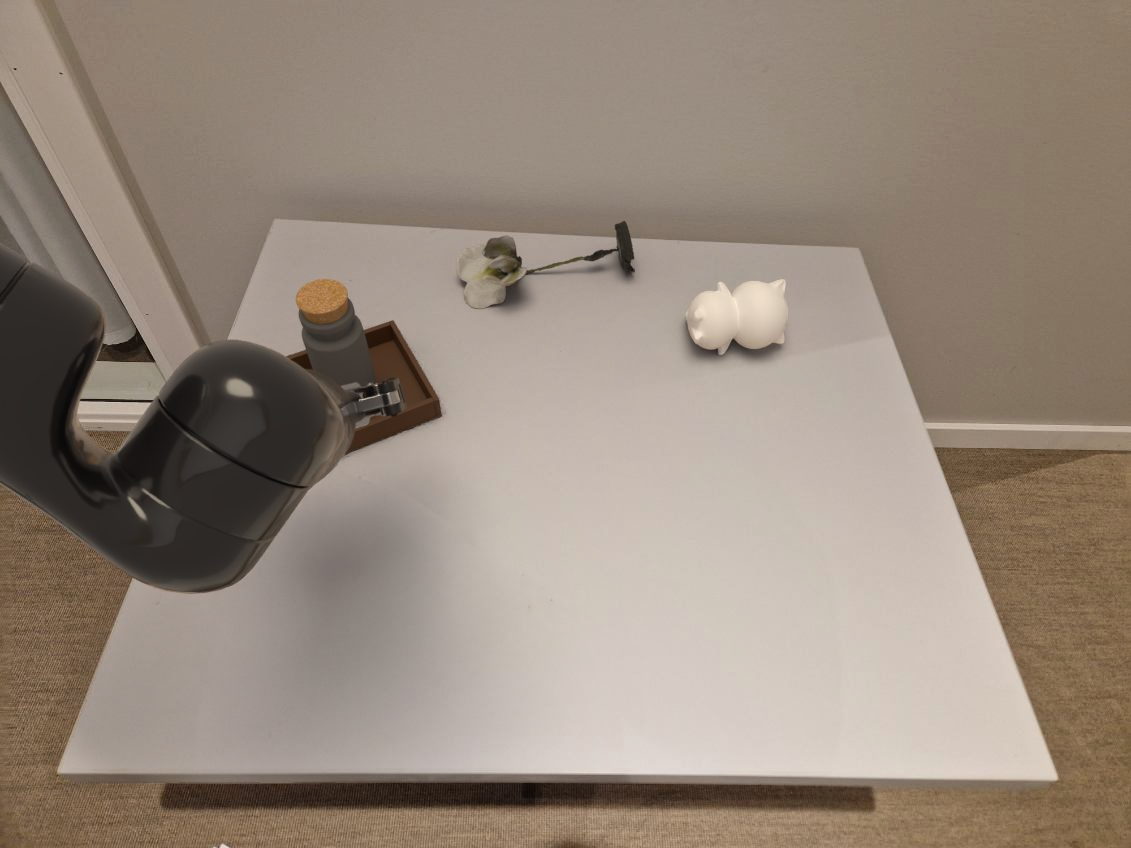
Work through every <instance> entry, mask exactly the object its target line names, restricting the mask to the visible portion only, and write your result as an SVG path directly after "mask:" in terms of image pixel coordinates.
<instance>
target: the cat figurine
mask: <svg viewBox="0 0 1131 848" xmlns="http://www.w3.org/2000/svg"><path fill="white" fill-rule="evenodd" d="M786 284H787V281H786V279H784V278H782V279H777V280H773V281H771V282H765V281H761V280H749V281H745V282H743V283H740V284H739V285H738V286H737V287H736V288H735V289H734V290H733V291H732V292H731V291H730V290H729V288H728V287H727V286H726V284H725V283H724V282H722V281H718V282H717V283H716V290H704V291H702V292H700V293H699V294H697V295H696V296H695V297H694V298H693V300H692V301H691V303H690V304H689V306H688V309H687V311H686V312H685V315H684V319H685V321H686V322H687V329H688V330H687V331H688V333H689V335H690V338H691V340H693V342H694V344H695V345H697V346H699V347H701V348H702V349H705V350H717V354H718V355H719V356H723V355H724V354H725V353H726V352H727V350H728V348H729V347H730V344H731V342H732V341H733V340H734V341H735V342H736V343H737V344H739V345H740V346H742V347H743V348H745V349H750V350H759V349H762V348H765V347H768V346H769V345H772V344H778V345H781V344H784V343H785V339H786V338H785V333H784V331H785V328H786V326H787V324H788V320H789V306H788V303H787V301H786V298H785V291H786Z"/></svg>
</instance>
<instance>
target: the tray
mask: <svg viewBox="0 0 1131 848" xmlns="http://www.w3.org/2000/svg"><path fill="white" fill-rule="evenodd" d="M364 333H365V337H366V341H367V344H368V348H369V352H370V356H371V360H372V364H373V368H374V372H375V376H376V380H377V384H380V383H382V381H385V380H388V379H389V378H393V377H394V378H395V379H396V378H399V379H400V384H401V387H402V390H403V394H404V398H405V401H406V405H407V407H406V408H405V409H404V411H403V412H401V413H398V415H397V416H394V417H391V415H390V416H386V415H385V416H381V415H379V416H372V417H370V422H369V424H368V425H365V426H362V427H359V428H356V429H355V433H354V437H353V440H352V443H351V445H350V447H349V449H348V450H347V452H346V453H345V455H347V454H349V453H352V452H354V451H355V452H356V451H357V450H360V449H362V448H365V447H367V446H369V445H372V444H375V443H377V442H379V441H382V440H384V439H388V438H391V437H392V436H396V435H398V434H400V433H403V432H405V431H408V430H411V429H413V428H415V427H418V426H420V425H423V424H425V423H428V422H431V421H434V420H435V419H438V418H440V417H443V414H442V409H441V401H440V397H439V396H438V394H437V392H436V391H435V389H434V387H433V386H432V384H431V382H430V381H429V379H428V377H427V376H426V373H425V372H424V370H423V368H422V367H421V364H420V363H419V362H418V359H417V358H416V356H415V355H414V353H413V351H412V349H411V348H410V346H409V344H408V342H407V340H406V339H405V337H404V336H403V333H402V332H401V330H400V328H399V327H398V325H397V323H396V322H395V320H394V319H392V320H389V321H385V322H382V323H380V324H377V325H374V326H372V327H369V328H366V329H364ZM285 356H286V357H288V358H289V359H291V360H293V361H294V362H296V363H297V364H298V365H300V366H301V367H303V368H304V369H309V370H313V368H312V365H311V362H310V360H309V357H308V354H307V351H306V349H303V350H300V351H298V352H294V353H292V354H289V355H285Z"/></svg>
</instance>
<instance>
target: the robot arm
mask: <svg viewBox="0 0 1131 848" xmlns="http://www.w3.org/2000/svg"><path fill="white" fill-rule="evenodd" d="M28 263H29V258H28V257H26V256H25V255H23V254H21V253H19V252H17V251H15V250H14V249H12V248H10V247H8V246H7V245H5V244H3V243H2V242H0V486H2V487H3V488H5V489H7V490H8V491H9V492H11V493H13V494H14V495H16V496H18V497H19V498H20V499H22V500H23V501H25V502H27V503H28V504H29V505H31V506H33V507H34V508H36V509H37V510H38V511H40V512H41V513H43V514H44V515H46V516H47V517H48V518H50V519H51V520H53V521H54V522H56V523H57V524H59V525H60V526H61V527H63V528H64V529H65V530H67V532H69V533H70V534H71V535H73V536H74V537H75V538H76V539H78V540H79V541H81V542H82V543H83V544H84V545H86V546H87V547H89V548H90V549H91V550H93V552H95V553H96V554H98V555H99V556H100V557H102V558H103V559H104V560H105V561H106V562H108V563H109V564H111V565H112V566H114V567H115V568H117V569H118V570H120V571H122V573H125V574H126V575H128V576H129V577H130V578H132V579H134V580H136V581H138V582H140V583H142V584H144V585H146V586H149V587H152V588H154V589H157V590H160V591H163V592H168V593H175V594H184V595H194V594H208V593H213V592H216V591H217V592H218V591H221V590H224V589H227V588H230V587H232V586H234V585H235V584H237V583H238V582H240V581H242V580H243V579H244V578H245V577H246V576H247V575H248V574H250V572H251V571H252V570H253V569H255V566H256V565H257V564H258V562H259V561H260V559H261V558H262V557H263V556H264V554H265V553H266V551H267V550H268V549H269V547H270V546H271V544H272V543H273V541H274V540H275V538H276V537H277V536H278V534H279V533H280V531H281V530H282V528H283V527H284V526H285V524H286V523H287V521H288V520H289V518H290V517H292V514H293V513H294V511H296V509H297V507H298V506H299V504H301V502H302V501H303V499H304V498H305V496H306V495H307V493H308V492H309V491H310V490H311V489H312V488H314V486H315V485H316V484H318V483H319V482H321V481H322V480H323V479H325V478H326V477H327V476H328V475H329V474H330V473H331V472H332V471H333V470H334V469H335V467H337V465H338V464H339V462H340V461H341V460H342V458H343V457H344V456H346V454H345V453H346V452H347V450H348V449H349V447H350V445H351V443H352V440H353V437H354V433H355V429H356V428H359V427H362V426H365V425H368V424H369V422H370V417H372V416H379V415H381V416H385V415H386V416H390V415H391V417H394V416H397V415H398V413H401V412H403V411H404V409H405V408H406V407H407V405H406V401H405V398H404V394H403V390H402V387H401V384H400V379H399V378H396V379H395V378H394V377H393V378H389V379H388V380H385V381H382V383H380V384H377V383H375V384H373V382H372V383H368V384H366V385H367V386H363V387H361V386H360V384H359V383H357V382H355V383H351V384H346V385H342V386H340V385H339V384H338V383H336V382H335V381H334V380H333V379H331V378H330V377H328V376H326V375H324V374H322V373H320V372H317V371H314V370H309V369H304V368H303V367H301V366H300V365H298V364H297V363H296V362H294V361H293V360H291V359H289V358H288V357H286V356H287V355H284V354H282V353H281V352H279V351H276V350H275V349H273V348H270V347H267V346H265V345H261V344H259V343H256V342H253V341H247V340H242V339H234V338H233V339H232V338H231V339H230V338H229V339H220V340H215V341H213V342H210V343H207V344H206V345H203V346H201V347H200V348H198V349H197V350H195V351H193V352H192V353H191V354H189V356H187V357H186V358H185V359H184V360H183V361H182V362H181V363H180V364H179V366H178V367H177V368H175V370H174V371H173V372H172V374H171V375H170V376H169V378H168V379H167V381H166V382H165V384H164V385H163V386H162V388H161V389H160V390H159V392H158V395H155V397H154V399H153V400H152V401H151V402H150V404H149V406H148V407H147V408H146V410H145V411H144V412H143V413H142V415H141V416H140V418H139V419H138V421H137V422H136V424H135V425H134V426H133V428H132V429H131V430H130V432H129V433H128V435H126V437H125V439H124V440H123V442H122V443H121V444H120V445H119V447H118V448H117V450H115V451H111V450H109V449H107V447H104V446H102V445H100V444H99V443H98V442H97V441H96V440H94V439H93V438H92V437H91V436H90V434H88V432H87V431H86V430H85V428H84V426H83V424H82V423H81V421H80V419H79V416H78V412H79V411H78V410H79V406H80V403H81V398H82V396H83V393H84V391H85V389H86V387H87V384H88V381H89V379H90V377H91V374H92V372H93V370H94V368H95V366H96V363H97V361H98V358H99V356H100V353H101V350H102V347H103V344H104V341H105V338H106V332H107V319H106V316H105V315H106V314H105V313H104V311H103V309H102V307H101V305H99V303H98V302H97V301H96V300H95V299H94V298H92V297H91V296H90V295H89V294H87V293H86V292H84V291H83V290H82V289H80V288H79V287H77V286H75V285H74V284H73V283H70V282H69V281H68V280H66V279H64V278H63V277H61V276H59V275H58V274H56V273H54V272H52V271H51V270H49V269H47V268H45V267H43V266H42V265H41V264H38V263H37V262H35V261H31V262H30V263H29V264H28ZM363 396H364V398H363Z"/></svg>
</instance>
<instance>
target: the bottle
mask: <svg viewBox="0 0 1131 848" xmlns="http://www.w3.org/2000/svg"><path fill="white" fill-rule="evenodd" d="M295 304H296V305H297V307H298V319H299V322H300V324H301V326H302V329H301V338H302V342H303V346H304V348H305V350H306V351H307V354H308V357H309V360H310V362H311V365H312V368H313V370H314V371H317V372H320V373H322V374H324V375H326V376H328V377H330V378H331V379H333V380H334V381H335V382H336V383H338V384H339V385H340V386H342V385H346V384H351V383H355V382H357V383H359V384H360V386H361V387H363V386H367V385H366V384H368V383H372V382H373V384H375V383H377V380H376V376H375V372H374V368H373V364H372V360H371V356H370V352H369V348H368V344H367V341H366V337H365V333H364V330H365V329H364V326H363V323H362V321H361V319H360V318H359V317H358V315H357V314H356V310H355V306H354V303H353V302H352V300H351V299H350V298H349V292H348V289H347V287H346V286H345V284H343V283H342V282H340V281H338V280H337V279H333V278H332V279H331V278H319V279H315V280H312V281H309V282H307V283H305V284H304V285H303V286H302V287H300V288H299V289H298V291H297V293H296V295H295ZM363 398H364V396H363Z"/></svg>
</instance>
